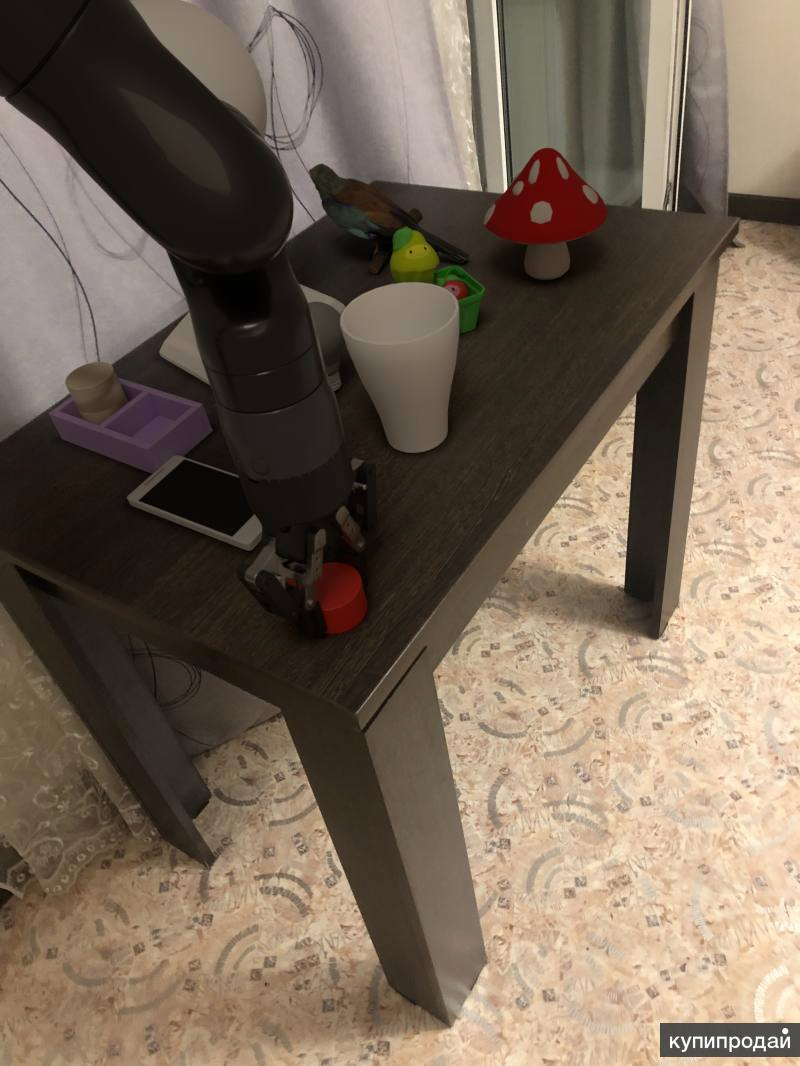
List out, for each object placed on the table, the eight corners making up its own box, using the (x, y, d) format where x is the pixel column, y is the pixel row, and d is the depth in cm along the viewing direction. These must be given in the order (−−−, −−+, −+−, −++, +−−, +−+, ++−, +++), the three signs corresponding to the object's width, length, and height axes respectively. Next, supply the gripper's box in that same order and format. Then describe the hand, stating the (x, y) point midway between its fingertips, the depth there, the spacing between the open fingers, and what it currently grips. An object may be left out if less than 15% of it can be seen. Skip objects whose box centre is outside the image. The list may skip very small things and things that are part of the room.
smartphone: (250, 552, 71) (247, 544, 71) (127, 504, 78) (124, 497, 78) (298, 501, 75) (296, 493, 75) (177, 460, 82) (174, 453, 82)
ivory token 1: (98, 418, 83) (86, 393, 81) (67, 407, 86) (54, 383, 83) (133, 391, 86) (123, 367, 84) (102, 381, 88) (91, 357, 86)
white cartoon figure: (158, 318, 105) (37, 2, 80) (330, 275, 107) (264, -45, 82) (164, 401, 90) (20, 49, 66) (363, 350, 92) (294, -10, 68)
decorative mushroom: (478, 304, 96) (469, 176, 86) (496, 249, 106) (490, 127, 95) (600, 304, 93) (606, 170, 82) (608, 247, 102) (614, 121, 92)
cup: (457, 393, 84) (445, 272, 75) (482, 455, 77) (471, 328, 67) (358, 415, 84) (333, 295, 74) (373, 478, 76) (347, 355, 67)
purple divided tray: (159, 476, 81) (147, 449, 78) (61, 439, 88) (47, 413, 86) (213, 431, 85) (203, 403, 83) (115, 398, 92) (103, 372, 90)
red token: (343, 643, 63) (336, 618, 61) (293, 620, 65) (285, 596, 63) (379, 599, 66) (373, 573, 63) (330, 578, 68) (323, 554, 66)
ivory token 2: (109, 441, 85) (98, 418, 83) (78, 429, 88) (67, 407, 86) (143, 414, 88) (133, 391, 86) (112, 404, 90) (102, 381, 88)
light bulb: (320, 369, 91) (301, 287, 84) (367, 377, 89) (351, 293, 82) (292, 400, 87) (270, 317, 80) (340, 409, 85) (321, 324, 78)
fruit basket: (399, 364, 90) (384, 268, 82) (369, 330, 96) (352, 237, 88) (490, 331, 92) (484, 235, 84) (455, 299, 98) (446, 207, 90)
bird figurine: (483, 237, 107) (390, 100, 98) (461, 275, 101) (359, 132, 92) (409, 281, 116) (318, 159, 107) (384, 319, 109) (285, 192, 101)
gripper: (307, 368, 59) (348, 534, 71) (170, 489, 51) (242, 653, 63) (393, 390, 55) (422, 561, 67) (260, 524, 47) (319, 691, 59)
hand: (335, 605), depth 65 cm, fingers closed on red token, 5 cm apart
